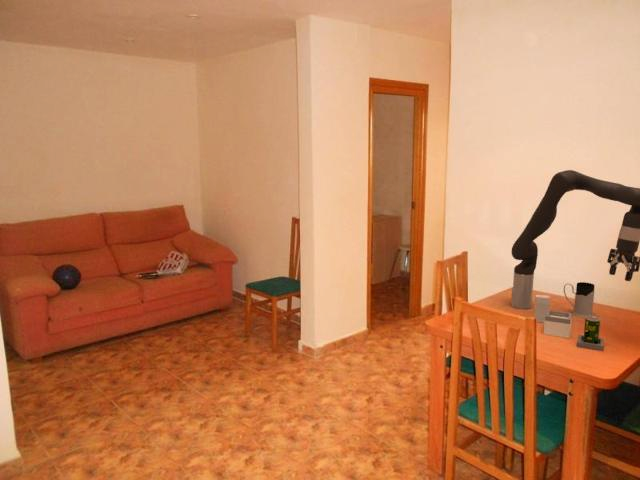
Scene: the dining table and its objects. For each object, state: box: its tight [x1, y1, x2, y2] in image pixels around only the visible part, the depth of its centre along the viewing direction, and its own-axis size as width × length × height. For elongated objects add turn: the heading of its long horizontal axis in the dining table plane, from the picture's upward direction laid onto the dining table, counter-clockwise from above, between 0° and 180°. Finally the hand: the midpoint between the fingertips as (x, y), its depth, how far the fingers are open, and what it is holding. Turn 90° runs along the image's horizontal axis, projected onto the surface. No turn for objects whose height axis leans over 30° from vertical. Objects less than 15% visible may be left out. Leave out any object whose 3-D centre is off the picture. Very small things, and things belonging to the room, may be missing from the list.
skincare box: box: [533, 294, 551, 324], centre depth 239 cm, size 6×4×12 cm
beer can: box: [582, 314, 601, 344], centre depth 211 cm, size 5×5×12 cm
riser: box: [543, 309, 573, 339], centre depth 225 cm, size 10×10×8 cm
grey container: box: [563, 281, 595, 319], centre depth 249 cm, size 9×14×15 cm, turn 41°
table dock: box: [576, 334, 605, 352], centre depth 212 cm, size 9×9×2 cm
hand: (619, 277), depth 209 cm, fingers open, 8 cm apart
